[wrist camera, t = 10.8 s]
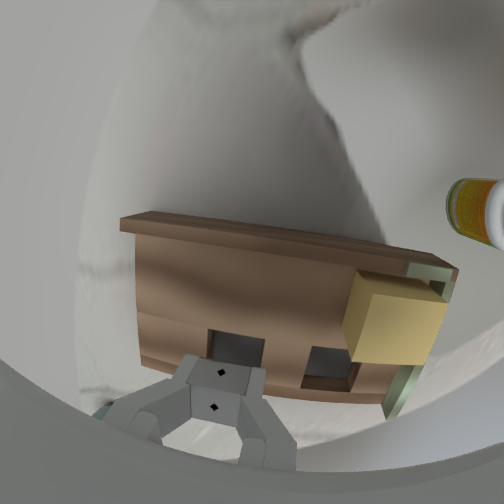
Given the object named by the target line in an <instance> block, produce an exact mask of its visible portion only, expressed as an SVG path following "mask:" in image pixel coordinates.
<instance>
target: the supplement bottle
mask: <svg viewBox="0 0 504 504" xmlns="http://www.w3.org/2000/svg"><path fill="white" fill-rule="evenodd" d="M446 213H447V217H448V221H449V223H450V225H451V226H452V228H453V229H454V230H455V231H456V232H457V233H459V234H461V235H463V236H466V237H468V238H471V239H474V240H477V241H479V242H482V243H485V244H487V245H490V246H492V247H494V248H497V249H499V250H502V251H504V179H503V180H502V179H483V178H482V179H480V178H463V179H460V180H458V181H457V182H455V183H454V184H453V186H452V187H451V189H450V190H449V192H448V195H447V199H446Z"/></svg>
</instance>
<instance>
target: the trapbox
mask: <svg viewBox="0 0 504 504" xmlns="http://www.w3.org/2000/svg"><path fill="white" fill-rule="evenodd" d="M120 231H122V232H129V233H136V244H135V275H136V305H137V322H138V335H139V346H140V356H141V365H142V366H145V367H148V368H151V369H154V370H158V371H161V372H164V373H168V374H171V375H174V373H175V372H176V370H177V368H178V366H179V365H180V363H181V361H182V360H183V358H184V356H185V355H186V354H187V353H188V354H192V355H196V356H201V357H205V358H209V359H213V360H218V361H222V362H227V363H232V364H237V365H243V366H249V367H257V368H265V369H266V374H265V381H264V387H263V395H269V396H276V397H283V398H291V399H300V400H309V401H321V402H334V403H354V404H381V406H382V409H383V412H384V415H385V419H386V420H395V419H396V417H397V415H398V414H399V412H400V410H401V409H402V407H403V405H404V403H405V402H406V400H407V398H408V396H409V394H410V393H411V391H412V389H413V387H414V385H415V383H416V381H417V379H418V377H419V375H420V373H421V371H422V369H423V367H424V365H425V364H424V365H397V364H377V363H363V362H351V359H350V355H349V352H348V348H347V345H346V341H345V338H344V335H343V331H342V328H341V326H342V322H343V319H344V315H345V312H346V308H347V304H348V301H349V297H350V293H351V289H352V285H353V281H354V277H355V273H356V270H362V271H369V272H375V273H381V274H387V275H394V276H400V277H406V278H413V279H419V280H422V281H423V282H424V283H426V284H427V285H428V286H429V287H430V288H431V289H433V290H434V291H435V292H436V293H437V294H438V295H440V296H441V297H442V298H443V299H444V300H445V301H447V302H448V303H449V302H450V298H451V296H452V292H453V289H454V286H455V282H456V279H457V276H458V271H459V269H457V268H456V267H454V266H452V265H451V264H449V263H447V262H446V261H444V260H442V259H440V258H439V257H437V256H435V255H433V254H431V253H426V252H420V251H415V250H410V249H404V248H399V247H393V246H388V245H382V244H377V243H371V242H365V241H359V240H353V239H347V238H341V237H335V236H329V235H323V234H316V233H310V232H303V231H297V230H290V229H284V228H277V227H270V226H263V225H256V224H249V223H242V222H234V221H227V220H219V219H211V218H204V217H196V216H188V215H179V214H171V213H162V212H154V211H149V212H144V213H140V214H136V215H131V216H127V217H123V218H120ZM445 314H446V313H445ZM439 330H440V329H439ZM437 335H438V334H437ZM435 340H436V339H435ZM264 343H265V344H264ZM433 345H434V344H433ZM432 347H433V346H432ZM263 348H264V350H263ZM262 354H263V356H262ZM429 354H430V353H429ZM428 356H429V355H428ZM427 358H428V357H427ZM261 360H262V361H261ZM425 363H426V362H425ZM260 365H261V367H260Z"/></svg>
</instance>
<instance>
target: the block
mask: <svg viewBox="0 0 504 504" xmlns="http://www.w3.org/2000/svg"><path fill="white" fill-rule="evenodd" d="M448 305H449V303H448V302H447V301H445V300H444V299H443V298H442V297H441V296H440V295H438V294H437V293H436V292H435V291H434V290H433V289H431V288H430V287H429V286H428V285H427V284H426V283H424V282H423V281H422V280H419V279H413V278H406V277H400V276H394V275H387V274H381V273H375V272H369V271H362V270H356V273H355V277H354V281H353V285H352V289H351V293H350V297H349V301H348V304H347V308H346V312H345V315H344V319H343V322H342V326H341V328H342V331H343V335H344V338H345V341H346V345H347V348H348V352H349V355H350V359H351V362H363V363H377V364H397V365H424V364H425V362H426V360H427V357H428V355H429V353H430V351H431V349H432V346H433V344H434V342H435V339H436V337H437V334H438V332H439V329H440V327H441V324H442V322H443V319H444V316H445V313H446V311H447V308H448Z"/></svg>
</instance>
